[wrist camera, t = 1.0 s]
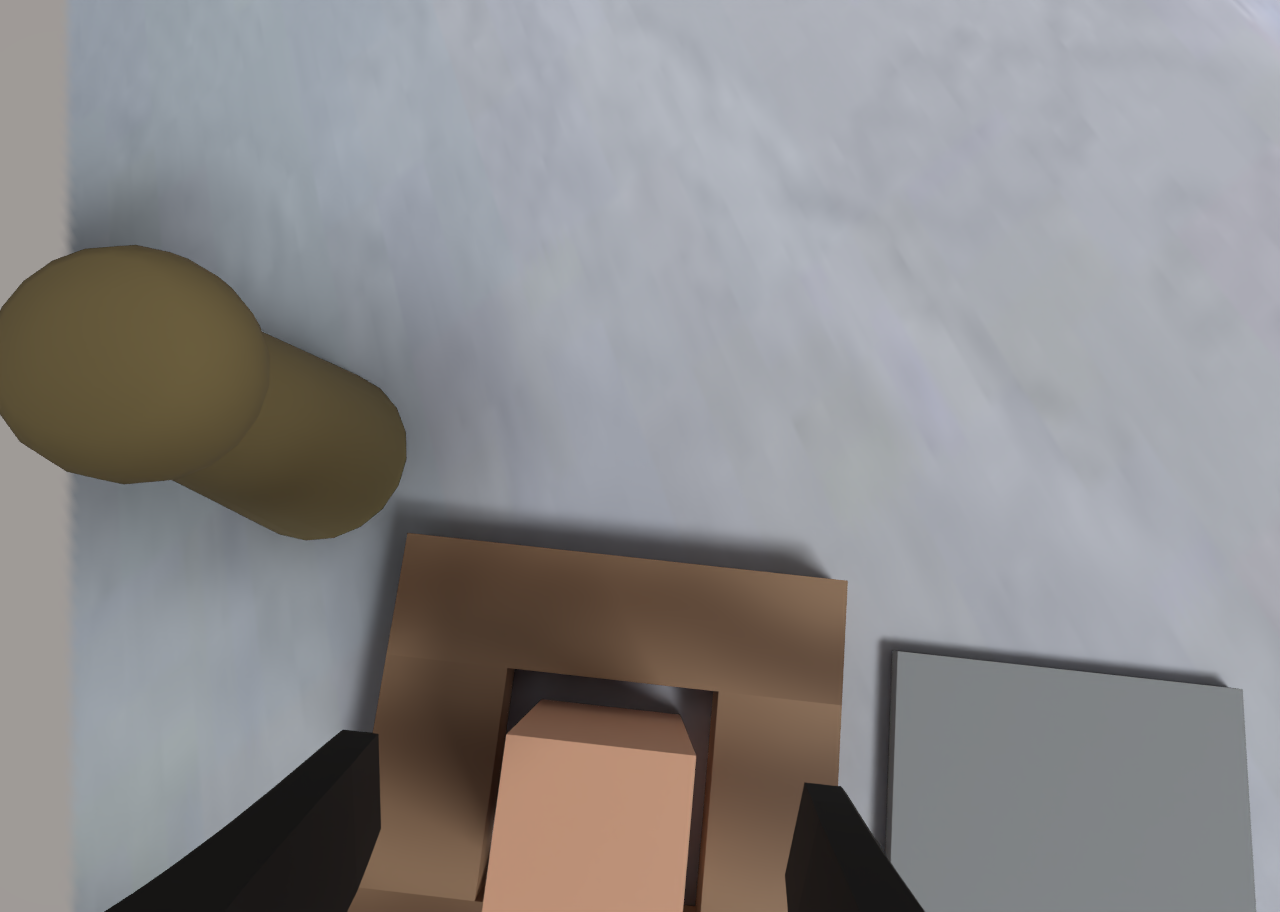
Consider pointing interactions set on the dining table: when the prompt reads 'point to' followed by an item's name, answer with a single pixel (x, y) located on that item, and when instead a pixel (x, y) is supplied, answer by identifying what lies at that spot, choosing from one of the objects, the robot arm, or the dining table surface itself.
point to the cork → (191, 394)
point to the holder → (609, 649)
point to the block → (592, 812)
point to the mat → (1065, 790)
